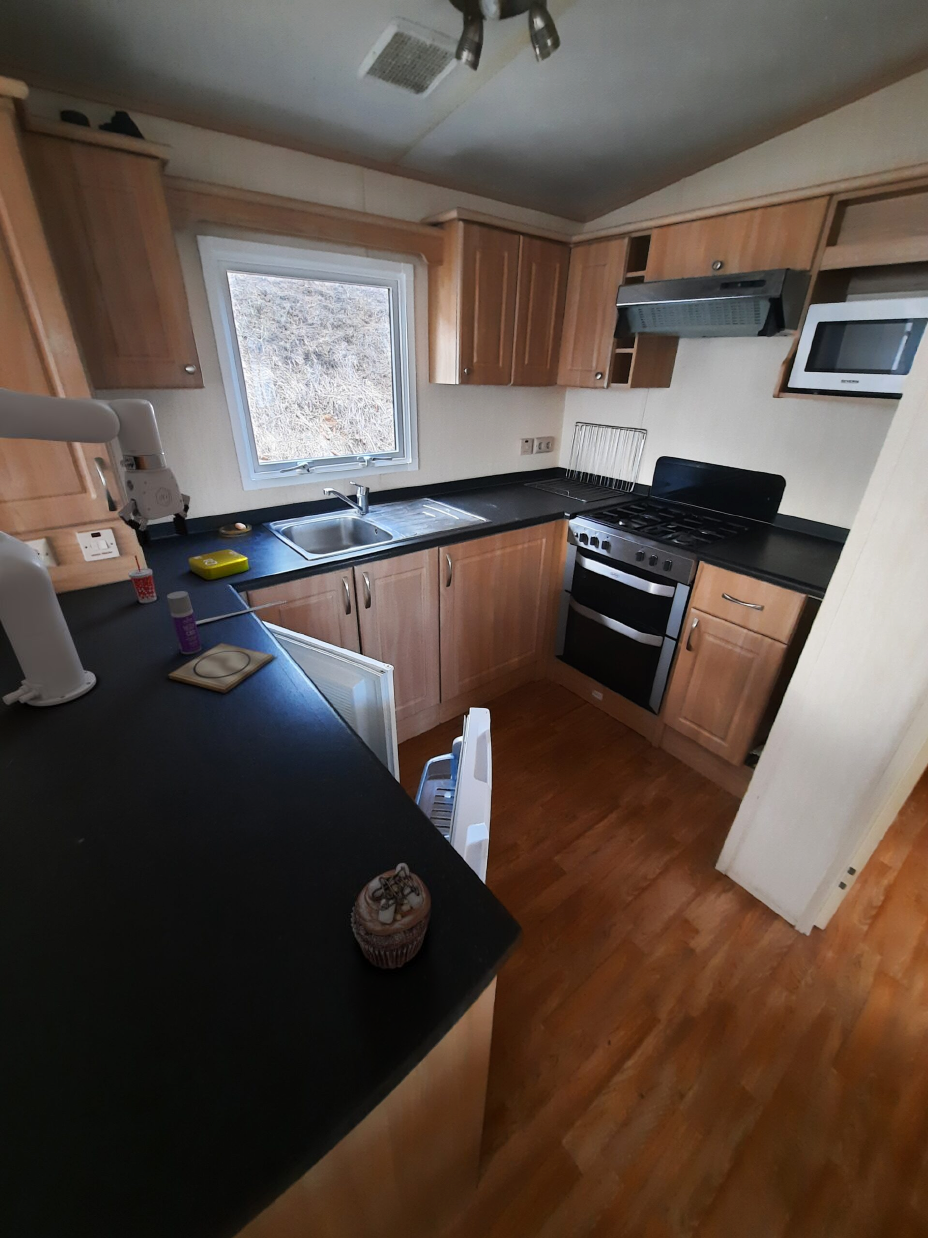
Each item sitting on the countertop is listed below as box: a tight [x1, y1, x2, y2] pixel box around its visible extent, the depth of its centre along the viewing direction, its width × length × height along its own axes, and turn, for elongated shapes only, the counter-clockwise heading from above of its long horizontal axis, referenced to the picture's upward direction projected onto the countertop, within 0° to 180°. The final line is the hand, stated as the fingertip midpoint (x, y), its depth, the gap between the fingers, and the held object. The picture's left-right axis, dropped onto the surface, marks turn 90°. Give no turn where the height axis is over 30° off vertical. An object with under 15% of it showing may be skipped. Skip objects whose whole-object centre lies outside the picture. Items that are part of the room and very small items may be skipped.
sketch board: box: [168, 642, 275, 694], centre depth 119 cm, size 16×16×1 cm
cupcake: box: [350, 862, 432, 970], centre depth 61 cm, size 10×10×10 cm
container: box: [166, 590, 203, 655], centre depth 123 cm, size 5×5×15 cm
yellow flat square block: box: [188, 548, 250, 581], centre depth 175 cm, size 15×15×5 cm
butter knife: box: [195, 600, 287, 626], centre depth 146 cm, size 1×27×3 cm
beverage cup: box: [127, 555, 158, 604], centre depth 150 cm, size 6×6×14 cm
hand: (165, 540), depth 114 cm, fingers open, 9 cm apart
